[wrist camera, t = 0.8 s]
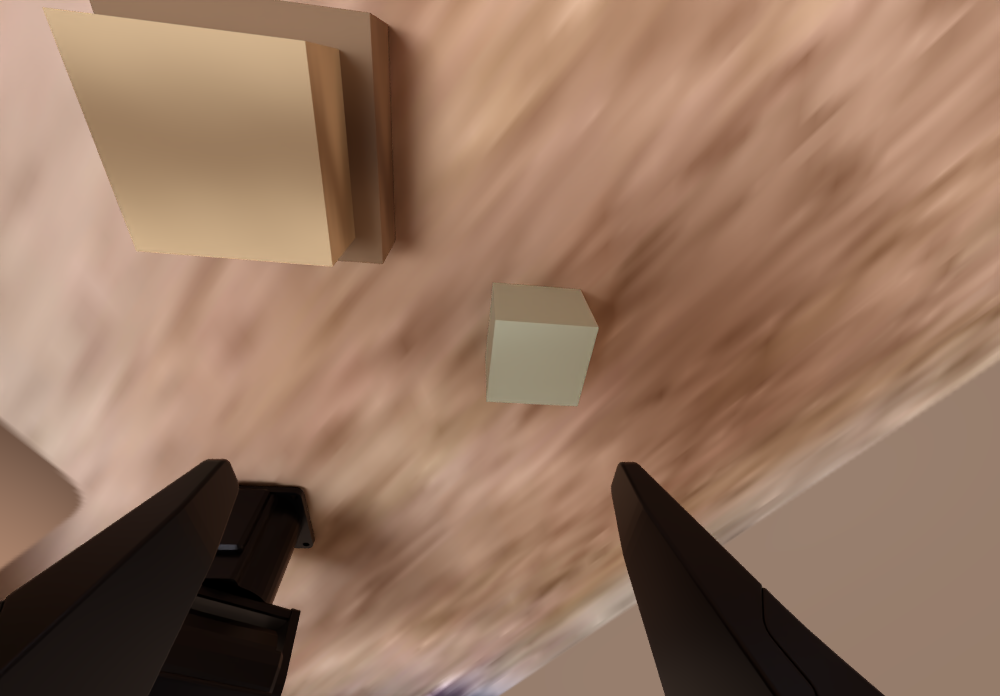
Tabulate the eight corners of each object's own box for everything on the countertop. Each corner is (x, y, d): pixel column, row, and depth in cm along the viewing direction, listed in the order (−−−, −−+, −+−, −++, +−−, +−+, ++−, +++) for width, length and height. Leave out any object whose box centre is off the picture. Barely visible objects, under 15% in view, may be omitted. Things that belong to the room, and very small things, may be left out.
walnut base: (395, 240, 19) (382, 264, 17) (214, 224, 18) (172, 247, 16) (387, 24, 15) (369, 12, 12) (151, -8, 14) (80, -27, 12)
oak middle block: (355, 237, 16) (332, 266, 14) (191, 223, 15) (136, 251, 13) (338, 49, 13) (305, 41, 10) (131, 22, 12) (41, 7, 10)
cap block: (563, 360, 24) (577, 406, 20) (485, 355, 23) (486, 401, 20) (579, 288, 21) (598, 327, 18) (492, 281, 21) (495, 320, 17)
